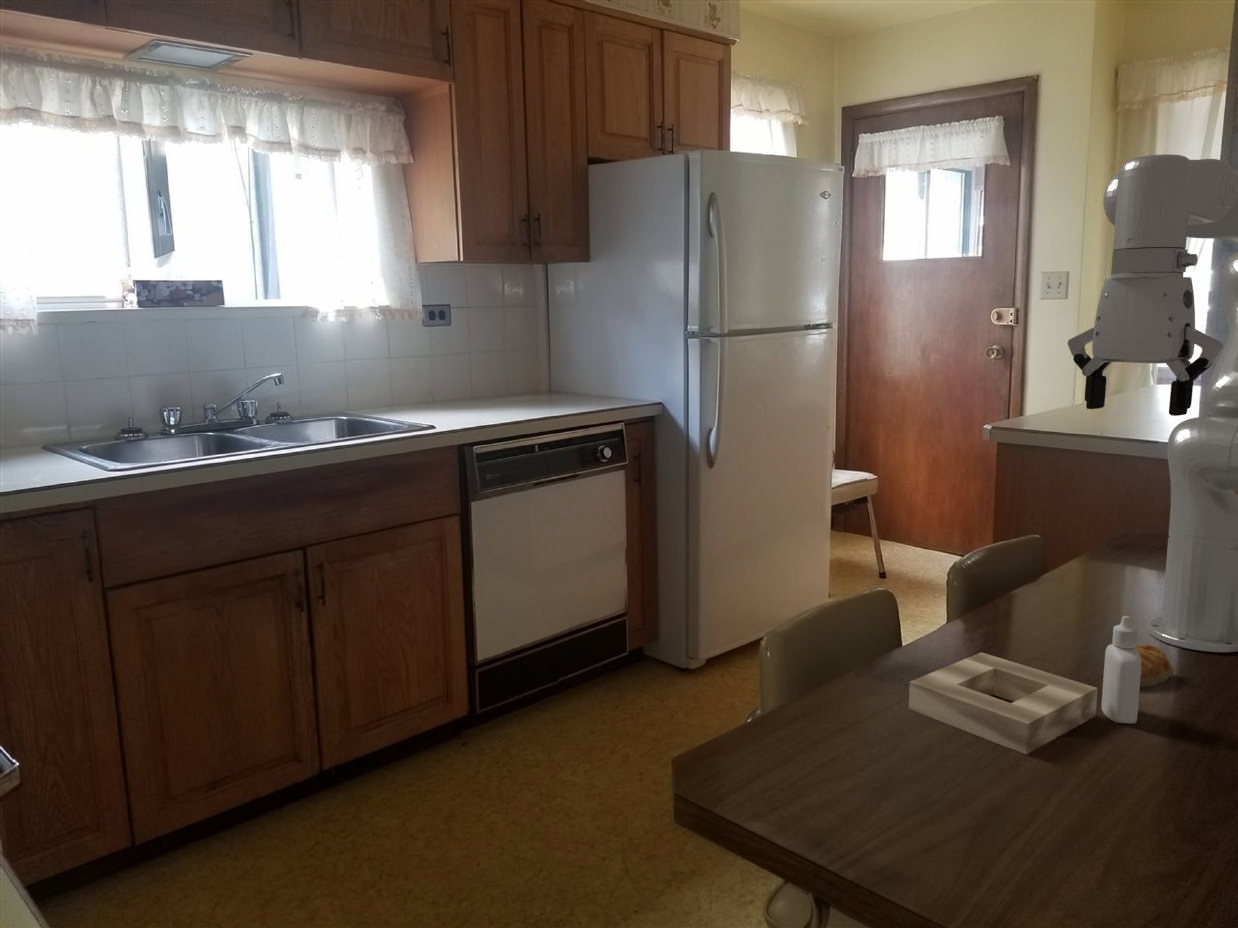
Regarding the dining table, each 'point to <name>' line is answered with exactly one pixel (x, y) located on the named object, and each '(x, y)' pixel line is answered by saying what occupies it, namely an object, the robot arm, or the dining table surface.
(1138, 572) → the dining table surface
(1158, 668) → the pastry
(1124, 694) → the eye dropper bottle
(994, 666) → the rectangular frame
